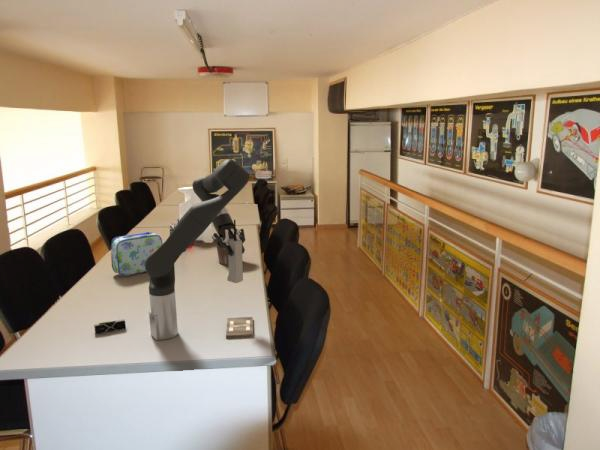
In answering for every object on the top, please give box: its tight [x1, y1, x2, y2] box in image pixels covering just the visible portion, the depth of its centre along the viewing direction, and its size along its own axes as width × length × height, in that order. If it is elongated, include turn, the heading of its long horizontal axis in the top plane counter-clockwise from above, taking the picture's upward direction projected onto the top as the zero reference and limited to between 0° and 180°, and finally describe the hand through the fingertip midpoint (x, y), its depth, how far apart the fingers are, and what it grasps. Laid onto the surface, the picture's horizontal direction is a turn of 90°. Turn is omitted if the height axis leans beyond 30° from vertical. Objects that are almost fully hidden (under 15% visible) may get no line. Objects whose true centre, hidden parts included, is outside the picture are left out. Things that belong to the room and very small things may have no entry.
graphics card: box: [93, 318, 127, 335], centre depth 191 cm, size 12×3×5 cm, turn 115°
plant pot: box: [215, 233, 240, 266], centre depth 276 cm, size 16×16×16 cm
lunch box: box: [110, 231, 163, 277], centre depth 261 cm, size 26×11×21 cm, turn 131°
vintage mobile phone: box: [226, 219, 244, 284], centre depth 191 cm, size 4×5×25 cm
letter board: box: [225, 316, 254, 339], centre depth 192 cm, size 16×10×1 cm, turn 6°
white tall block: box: [177, 186, 214, 244], centre depth 322 cm, size 35×11×21 cm
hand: (237, 253), depth 190 cm, fingers closed on vintage mobile phone, 4 cm apart
